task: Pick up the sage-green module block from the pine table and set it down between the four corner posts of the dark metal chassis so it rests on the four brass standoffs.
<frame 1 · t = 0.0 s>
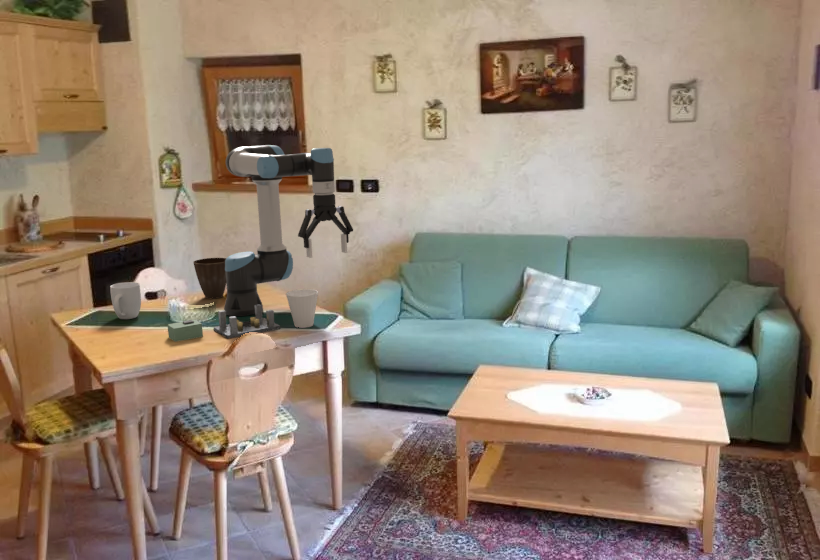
hand: (327, 254, 268), 28 cm above the table, fingers open, 13 cm apart
chassis: (247, 329, 281), on the table
cup: (304, 325, 284), on the table
mug: (127, 318, 303), on the table
plant pot: (214, 297, 335), on the table
module: (185, 337, 274), on the table
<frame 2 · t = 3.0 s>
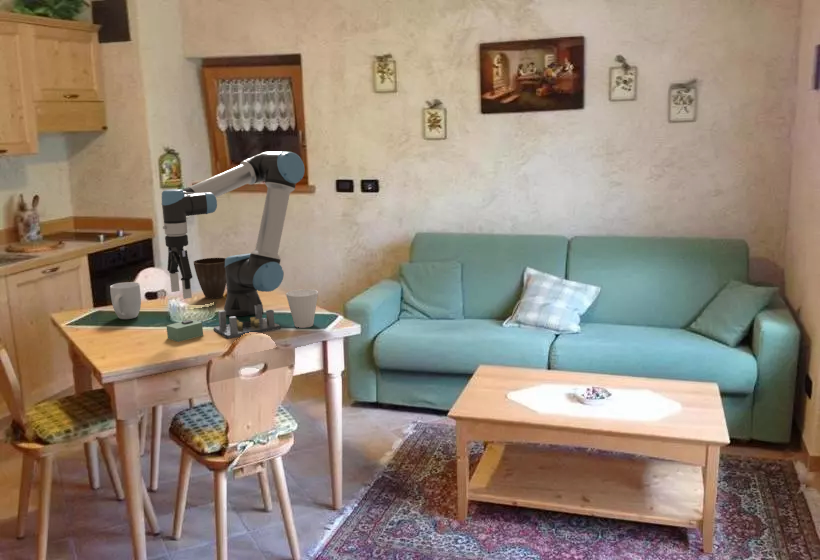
hand: (181, 294, 270), 15 cm above the table, fingers open, 13 cm apart
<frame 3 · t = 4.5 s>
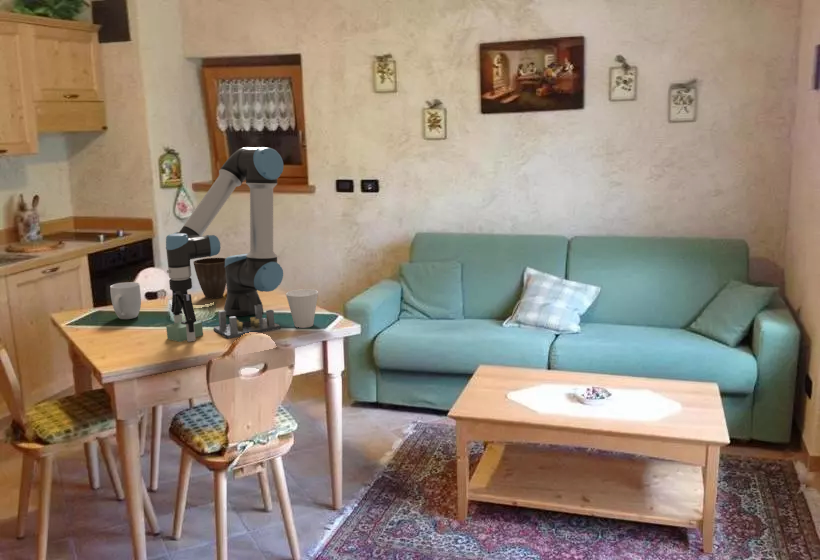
hand: (185, 336, 273), 0 cm above the table, fingers open, 13 cm apart
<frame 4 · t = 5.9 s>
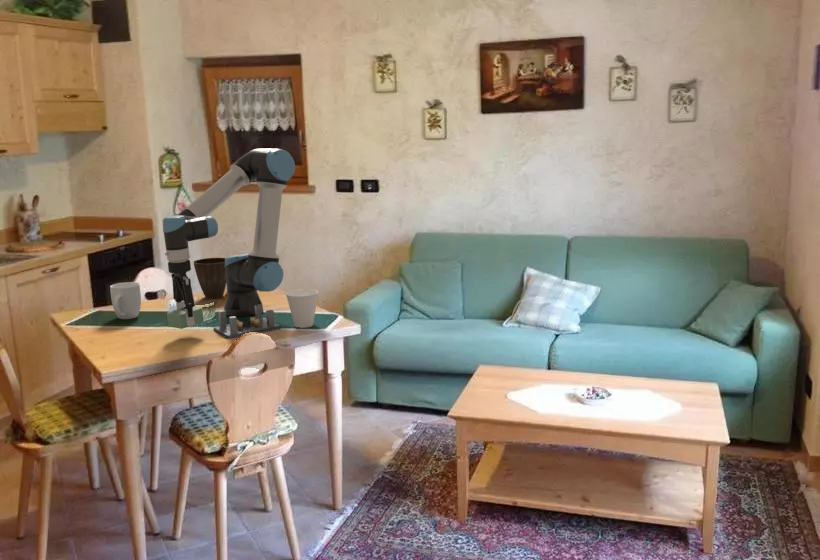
hand: (186, 322, 273), 5 cm above the table, fingers closed on module, 9 cm apart
module: (186, 323, 273), point 5 cm above the table, touching gripper
everything else where it was.
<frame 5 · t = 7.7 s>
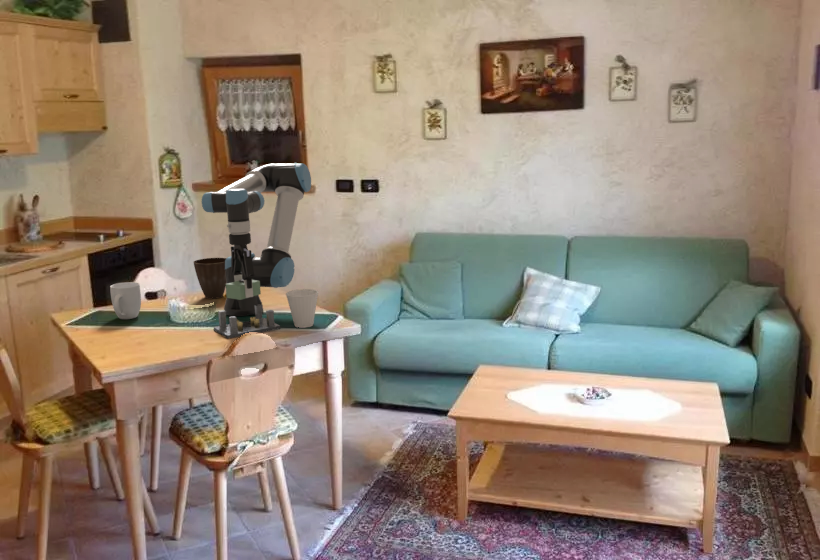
hand: (244, 294, 278), 13 cm above the table, fingers closed on module, 9 cm apart
module: (243, 295, 278), point 13 cm above the table, touching gripper
everything else where it was.
when the fingers open (4 cm above the table, at t = 9.8 s): module stays where it is, resting on chassis.
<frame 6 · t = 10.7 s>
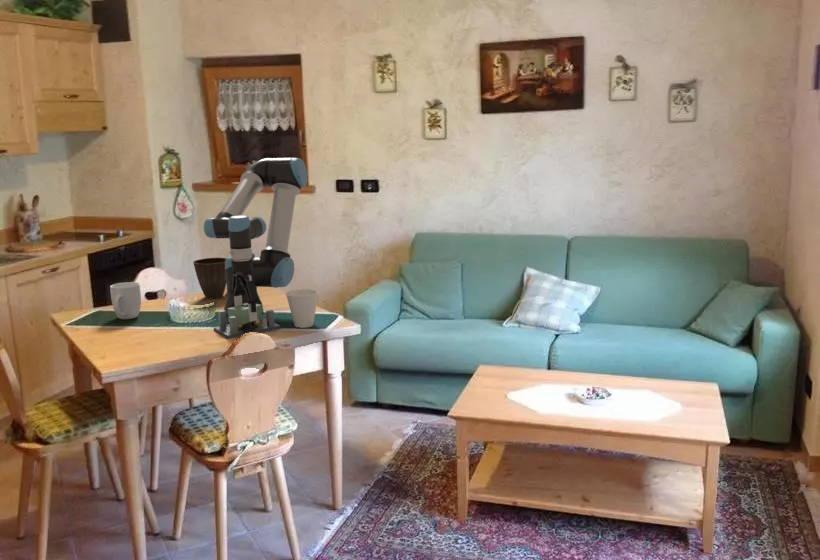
hand: (246, 316, 280), 5 cm above the table, fingers open, 13 cm apart
module: (245, 320, 280), point 4 cm above the table, touching chassis
everything else where it was.
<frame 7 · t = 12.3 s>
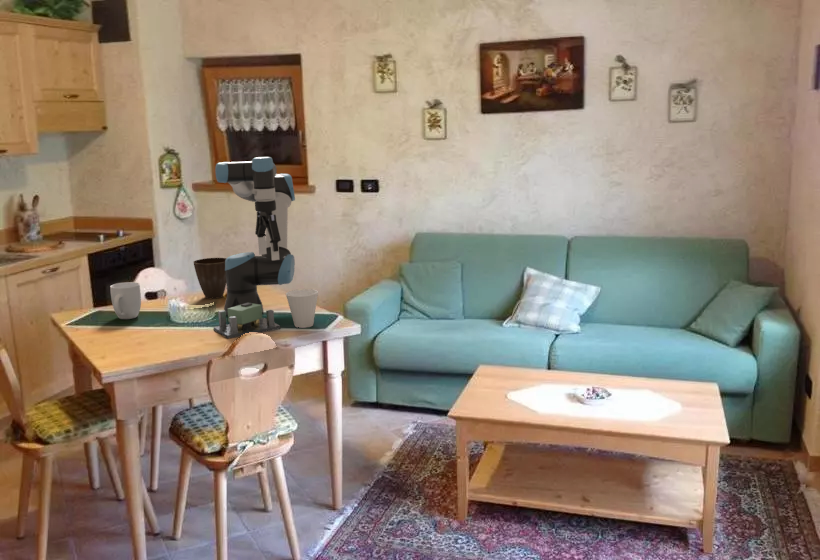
hand: (269, 257, 286), 25 cm above the table, fingers open, 13 cm apart
nothing on the table moved.
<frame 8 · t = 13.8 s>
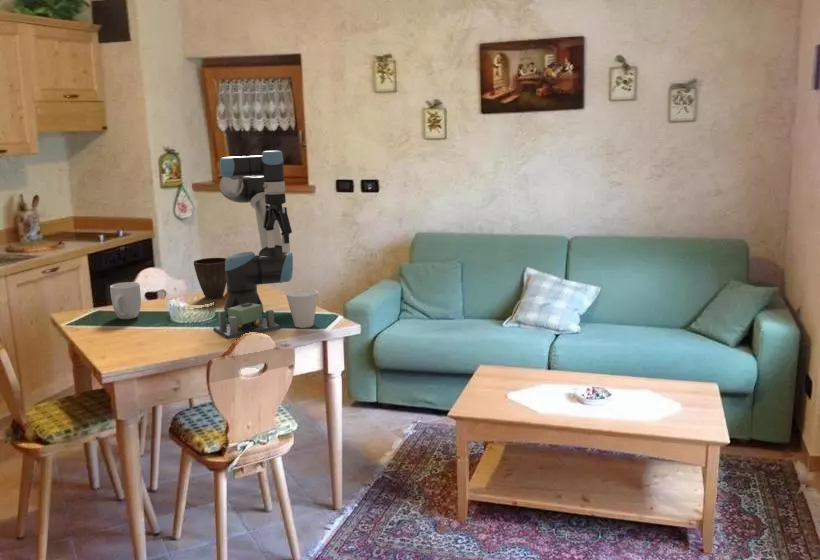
hand: (278, 249, 289), 27 cm above the table, fingers open, 13 cm apart
nothing on the table moved.
at the end: module 0.4 cm off-centre on the chassis, point 3.7 cm above the chassis's base; module tilted 0°; the gripper is holding nothing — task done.
